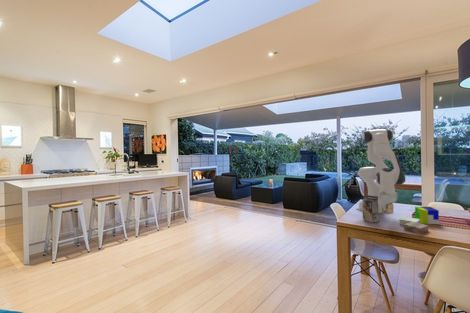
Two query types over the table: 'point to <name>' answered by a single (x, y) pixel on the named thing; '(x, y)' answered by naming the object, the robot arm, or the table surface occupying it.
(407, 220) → the sage block
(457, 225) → the table surface
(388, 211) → the oak block
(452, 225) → the table surface
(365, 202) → the coffee box
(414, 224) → the walnut block
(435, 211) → the puzzle toy
